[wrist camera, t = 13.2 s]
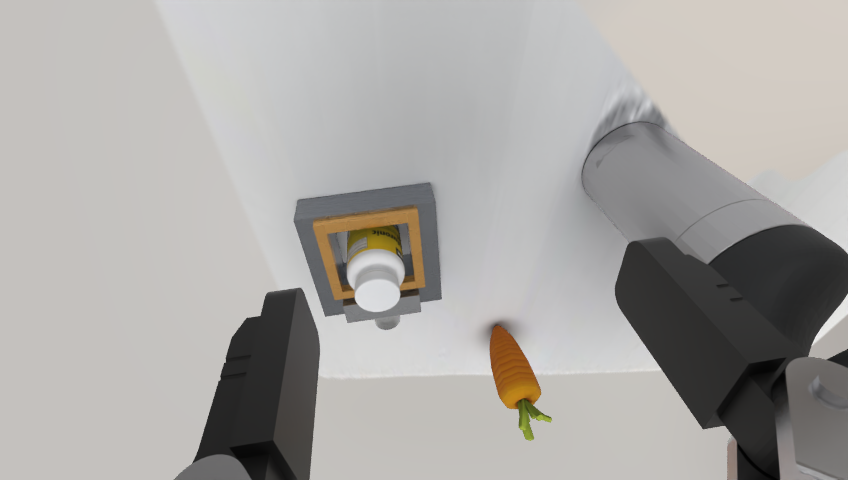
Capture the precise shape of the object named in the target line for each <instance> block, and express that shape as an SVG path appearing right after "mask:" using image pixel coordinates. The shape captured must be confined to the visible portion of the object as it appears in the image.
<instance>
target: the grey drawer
mask: <svg viewBox="0 0 848 480" xmlns="http://www.w3.org/2000/svg"><path fill="white" fill-rule="evenodd" d="M294 223H295V226H296V229H297V232H298V235H299V238H300V241H301V244H302V247H303V250H304V254H305V257H306V260H307V263H308V266H309V269H310V272H311V275H312V278H313V281H314V284H315V287H316V290H317V293H318V296H319V299H320V302H321V305H322V308H323V311H324V314H325V317H326V316H332V315H339V314H345V316H346V319H347V323H351V322H357V321H364V320H371V319H375V323H376V325H377V327H379V328H380V329H384V330H388V329H392V328H394V327H395V326H397V325H398V323H399V321H400V315H404V314H411V313H417V312H421V306H420V302H427V301H433V300H440V299H442V297H441V282H440V266H439V251H438V236H437V220H436V205H435V199H434V195H433V192H432V189H431V185H430V183H425V184H417V185H409V186H402V187H394V188H387V189H379V190H371V191H364V192H356V193H348V194H341V195H333V196H326V197H318V198H310V199H303V200H298V202H297V207H296V212H295V216H294ZM403 223H407V229H408V237H409V245H410V254H407V255H403V260H404V267H405V276H404V280H403V282H402V284H401V285H400V299H399V301H398V302H397V304H396V305H395V306H393V307H392V308H390V309H388V310H386V311H381V312H371V311H367V310H364V309H363V308H361V307H360V306H359V305H358V304H357V303H356V301H355V293H354V289H353V288H352V287H351V286H350V284H349V282H348V279H347V263H343V259H342V256H341V252H340V248H339V244H338V240H337V236H336V233H337V232H344V231H351V230H359V229H366V228H373V227H381V226H388V225H395V224H403Z"/></svg>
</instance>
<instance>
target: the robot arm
mask: <svg viewBox="0 0 848 480" xmlns="http://www.w3.org/2000/svg"><path fill="white" fill-rule="evenodd" d="M582 182H583V186H584V189H585V190H586V192H587V194H588V195H589V196H590V197H591V198H592V200H593V201H594V202H595V203H596V204H597V205H598V207H599V208H600V209H601V210H602V211H603V212H604V214H605V215H606V216H607V217H608V218H609V220H610V221H611V222H612V223H613V224H614V225H615V227H616V228H617V229H618V230H619V231H620V232H621V233H622V235H623V236H624V237H625V238H626V239H627V240H628V242H629V244H628V246H627V248H626V252H625V255H624V258H623V262H622V265H621V268H620V271H619V275H618V278H617V281H616V285H615V296H616V300H617V303H618V306H619V308H620V309H621V311H622V312H623V314H624V315H625V317H626V318H627V320H628V321H629V323H630V324H631V326H632V327H633V328H634V330H635V331H636V333H637V334H638V336H639V337H640V339H641V340H642V342H643V343H644V344H645V346H646V347H647V349H648V350H649V352H650V353H651V355H652V356H653V357H654V359H655V360H656V362H657V363H658V365H659V366H660V368H661V369H662V371H663V372H664V373H665V375H666V376H667V378H668V379H669V381H670V382H671V383H672V385H673V386H674V388H675V389H676V391H677V392H678V394H679V395H680V397H681V398H682V400H683V401H684V402H685V404H686V405H687V407H688V408H689V409H690V411H691V413H692V414H693V415H694V417H695V418H696V420H697V421H698V423H699V424H700V426H701V427H702V429H707V428H713V427H719V426H726V428H727V429H728V430H729V432H730V433H731V434H732V435H731V437H730V438H729V440H728V446H727V451H728V452H727V480H848V349H847V350H845V351H843V352H841V353H839V354H837V355H835V356H833V357H831V358H829V359H827V360H825V359H821V358H815V357H808V355H809V352H810V348H811V345H812V343H813V341H814V339H815V336H816V335H817V333H818V332H819V330H820V329H821V327H822V326H823V325H824V324H825V322H826V321H827V320H828V319H829V317H830V316H831V315H832V314H833V313H834V311H835V310H836V309H837V308H838V306H839V305H840V304H841V303H842V302H843V300H844V299H845V297H846V295H847V294H848V254H847V253H846V252H845V251H844V250H843V249H842V248H841V247H840V246H838V245H837V244H836V243H834V242H833V241H831V240H830V239H828V238H827V237H825V236H824V235H822V234H821V233H819V232H818V231H816V230H815V229H813V228H812V227H810V226H809V225H807V224H806V223H804V222H803V221H801V220H800V219H798V218H797V217H795V216H794V215H792V214H791V213H789V212H788V211H786V210H785V209H783V208H782V207H780V206H779V205H777V204H775V203H774V202H772V201H771V200H769V199H768V198H766V197H765V196H763V195H762V194H760V193H759V192H757V191H756V190H754V189H753V188H751V187H750V186H748V185H747V184H745V183H744V182H742V181H741V180H739V179H738V178H736V177H734V176H733V175H731V174H730V173H728V172H727V171H725V170H724V169H722V168H721V167H719V166H718V165H716V164H715V163H713V162H712V161H710V160H709V159H707V158H706V157H704V156H703V155H701V154H700V153H698V152H697V151H695V150H694V149H692V148H691V147H689V146H688V145H686V144H685V143H684V142H682V141H680V140H679V139H677V138H676V137H674V136H673V135H671V134H670V133H668V132H667V131H665V130H664V129H662V128H661V127H659V126H657V125H655V124H652V123H647V122H638V123H632V124H628V125H625V126H623V127H620V128H618V129H616V130H615V131H613V132H611V133H610V134H608V135H607V136H606V137H604V138H603V139H602V140H601V141H600V142H599V143H598V144H597V145H596V146H595V147H594V149H593V150H592V152H591V153H590V155H589V156H588V158H587V160H586V163H585V165H584V169H583V173H582ZM319 357H320V344H319V336H318V331H317V328H316V325H315V322H314V319H313V317H312V314H311V311H310V308H309V305H308V303H307V300H306V297H305V294H304V292H303V290H302V289H301V288H295V289H288V290H281V291H274V292H268V293H267V294H266V296H265V300H264V304H263V308H262V312H261V316H258V317H251V318H246V320H245V321H244V322H243V324H242V325H241V326H240V328H239V329H238V330H237V332H236V333H235V334H234V336H233V337H232V339H231V342H230V346H229V349H228V352H227V356H226V363H224V366H223V369H222V373H221V376H220V377H221V380H220V381H219V382H218V386H217V389H216V392H215V396H214V399H213V403H212V406H211V409H210V412H209V416H208V419H207V423H206V426H205V429H204V433H203V436H202V440H201V443H200V446H199V449H198V452H197V455H196V457H195V459H194V461H193V463H192V464H191V465H190V466H188V467H187V468H186V469H185V470H183V471H182V472H181V473H180V474H179V475H178V476H177V477H176V478H175V479H174V480H309V478H310V466H311V454H312V441H313V429H314V417H315V405H316V393H317V381H318V369H319Z"/></svg>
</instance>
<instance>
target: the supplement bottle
mask: <svg viewBox="0 0 848 480" xmlns="http://www.w3.org/2000/svg"><path fill="white" fill-rule="evenodd" d="M404 276H405V267H404V260H403V253H402V246H401V240H400V233H399V228H398V226H397V224H395V225H388V226H381V227H373V228H366V229H359V230H351V231H348V238H347V279H348V282H349V284H350V286H351V287H352V288H353V289H354V293H355V301H356V303H357V304H358V305H359V306H360V307H361V308H363V309H364V310H367V311H371V312H381V311H386V310H388V309H390V308H392V307H393V306H395V305H396V304H397V302H398V301H399V299H400V285H401V284H402V282H403V280H404Z"/></svg>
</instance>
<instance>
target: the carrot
mask: <svg viewBox="0 0 848 480" xmlns="http://www.w3.org/2000/svg"><path fill="white" fill-rule="evenodd" d="M490 359H491V368H492V372H493V376H494V380H495V384H496V387H497V391H498V395H499V397H500V399H501V400H502V402H503V403H504V404H505V406H506V407H507V408H509V409H519V416H520V418H519V428H520V429H521V430H523V433H524V436H525V439H527V440H530V441H531V440H533V439H534V436H533V433H532V430H531V427H530V424H529V422H530V419H529V414H530V416H531V418H532V419H535V418H536V419H537V420H538V421H540V420H544V421H547V422H551V420H552V418H551V417H549V416H546V415H544V414H543V413H541V412H540V411H539V410H538V409H536V408H535V407H534V406H533V404H534V403H535V402H536V401H537V400H538V398H539V397H540V395H541V389H540V386H539V384H538V382H537V379H536V377H535V375H534V373H533V370H532V368H531V366H530V364H529V362H528V360H527V358H526V357H525V355H524V354H523V352H522V350H521V349H520V347H519V345H518V344H517V342H516V341H515V339H514V338H513V337H512V336H511V335H510V334H509V333H508V332H507V331H506V330H505V329H504V328H502V327H501V326H498V325H496V326H495V327H494V329H493V331H492V335H491V339H490ZM528 413H529V414H528Z"/></svg>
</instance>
